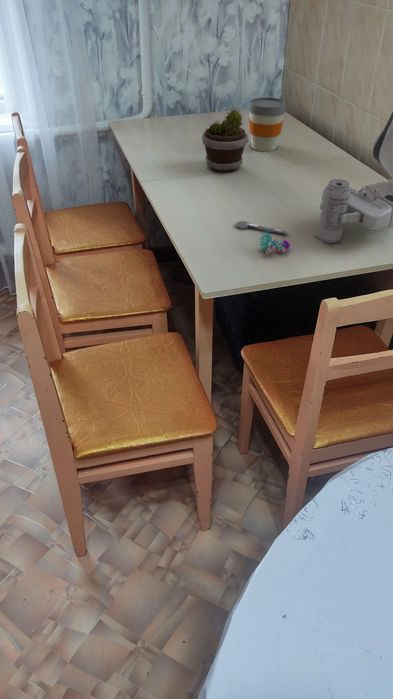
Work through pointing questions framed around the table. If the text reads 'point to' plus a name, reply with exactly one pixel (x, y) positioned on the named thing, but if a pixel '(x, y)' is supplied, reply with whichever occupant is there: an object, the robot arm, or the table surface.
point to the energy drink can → (333, 210)
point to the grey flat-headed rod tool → (258, 227)
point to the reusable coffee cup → (265, 122)
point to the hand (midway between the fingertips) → (331, 212)
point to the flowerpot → (225, 143)
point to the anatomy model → (268, 249)
